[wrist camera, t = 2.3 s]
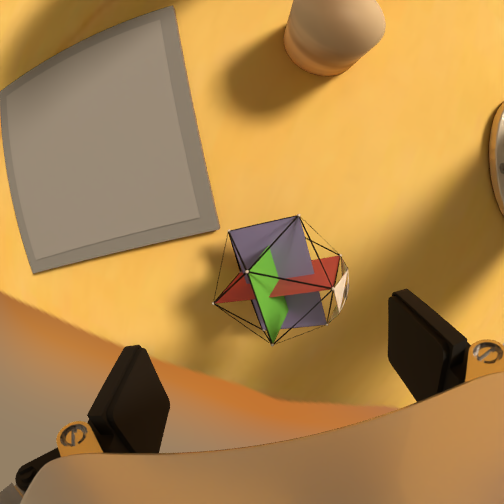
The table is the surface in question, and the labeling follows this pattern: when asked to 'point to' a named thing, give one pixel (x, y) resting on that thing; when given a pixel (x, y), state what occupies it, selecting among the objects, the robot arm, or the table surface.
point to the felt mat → (106, 146)
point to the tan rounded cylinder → (332, 33)
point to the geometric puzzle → (282, 277)
